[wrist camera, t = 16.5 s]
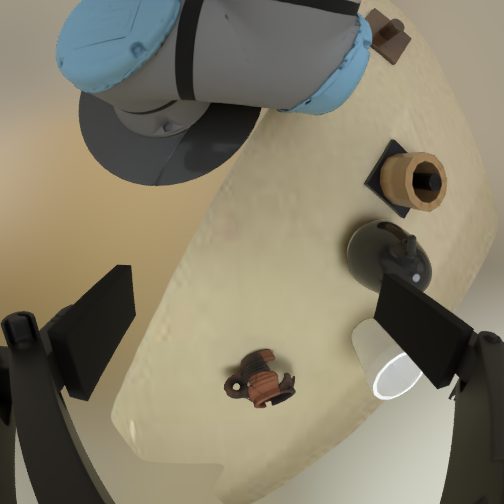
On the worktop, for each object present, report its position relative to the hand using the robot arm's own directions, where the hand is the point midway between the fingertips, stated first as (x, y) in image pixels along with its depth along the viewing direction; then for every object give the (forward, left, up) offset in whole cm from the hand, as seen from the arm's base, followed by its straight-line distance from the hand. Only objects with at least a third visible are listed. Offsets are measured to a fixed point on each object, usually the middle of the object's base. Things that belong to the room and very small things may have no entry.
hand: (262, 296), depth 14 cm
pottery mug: (+17, -21, -27) cm, 38 cm away
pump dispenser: (+19, +7, -27) cm, 34 cm away
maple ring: (+17, +19, -26) cm, 36 cm away
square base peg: (+17, +19, -27) cm, 37 cm away
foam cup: (+30, -5, -27) cm, 41 cm away
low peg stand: (+2, +40, -27) cm, 48 cm away
